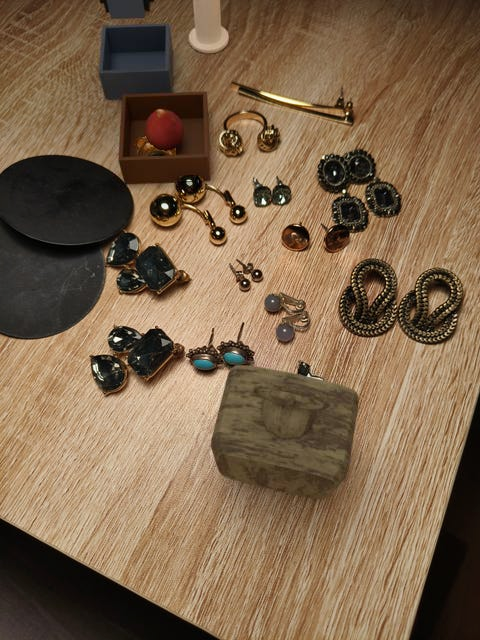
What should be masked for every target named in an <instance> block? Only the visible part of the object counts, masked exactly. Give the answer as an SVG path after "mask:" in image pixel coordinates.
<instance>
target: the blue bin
mask: <svg viewBox="0 0 480 640" xmlns="http://www.w3.org/2000/svg"><path fill="white" fill-rule="evenodd" d="M100 40H101V41H100V51H99V63H98V64H99V65H98V77H99V80H100V84H101V88H102V91H103V95H104V98H105V100H106V101H107V100H122V95H123V94H149V93H173V85H174V84H173V82H174V81H173V79H174V77H173V74H174V72H173V71H174V67H173V66H174V51H173V41H172V34H171V25H170V23H168V22H167V23H166V22H165V23H142V24H141V23H139V24H138V23H137V24H111V25H107V24H106V25H102V28H101V39H100Z"/></svg>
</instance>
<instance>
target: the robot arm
mask: <svg viewBox="0 0 480 640" xmlns="http://www.w3.org/2000/svg"><path fill="white" fill-rule="evenodd" d="M143 1H144V7H145V11H146V13H147V12H151V3H155V0H143ZM99 3H100V4H103V5H104V10H105V13H107V14H108V13H109V9H108V4H107V0H99ZM109 14H110V13H109Z"/></svg>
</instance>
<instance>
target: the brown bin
mask: <svg viewBox="0 0 480 640" xmlns="http://www.w3.org/2000/svg"><path fill="white" fill-rule="evenodd" d="M120 108H121V109H120V125H119V143H118V158H117V160H118V165H119V167H120V168H119V169H120V171H121V175H122V179H123V182H124V185H142V184H143V185H144V184H145V185H146V184H167V183H170V184H171V183H176V182H175V181H176V180H177V178H178V177H180V176H183V175H198V176H200V177H201V178H202V179H203V181H202V182H211V154H210V151H211V150H210V116H209V115H210V114H209V102H208V91H179V92H178V91H177V92H176V91H175V92H172V93H149V94H123V95H122V99H121V107H120ZM158 109H165V110H169V111H172V112H173V113H174V114H176V115H177V116H178V117H179V118H180V120H181V122H182V125H183V129H184V134H183V138H182V141H181V142H180V144H179V145H178V146H177V147H176V155H164V156H138V157H137V148H136V145H135V143H136V141H137V139H138V138H139V137H145V136H146V134H145V125H146V121H147V119H148V118H149V117H150V115H151V114H152V113H154V112H155V111H156V110H158Z"/></svg>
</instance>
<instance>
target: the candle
mask: <svg viewBox="0 0 480 640" xmlns="http://www.w3.org/2000/svg"><path fill="white" fill-rule="evenodd" d="M192 6H193V17H194V18H193V19H194V27H193V28H192V29H191V30H190V32H189V34H188V43H189V45H190V47H191V46H192V47H191V48H192V49H193V50H195V51H196V50H197V51H196V52H198V51H199V53H201V52H202V53H201V54H215V53H218V52H220V51H222V50H224V49H225V48H226V47H227V46H228V43H229V41H230V40H229V39H230V36H229V32H228V30H227V29H226V28H225V27H224V26H222V17H221V16H222V15H221V0H192Z"/></svg>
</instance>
